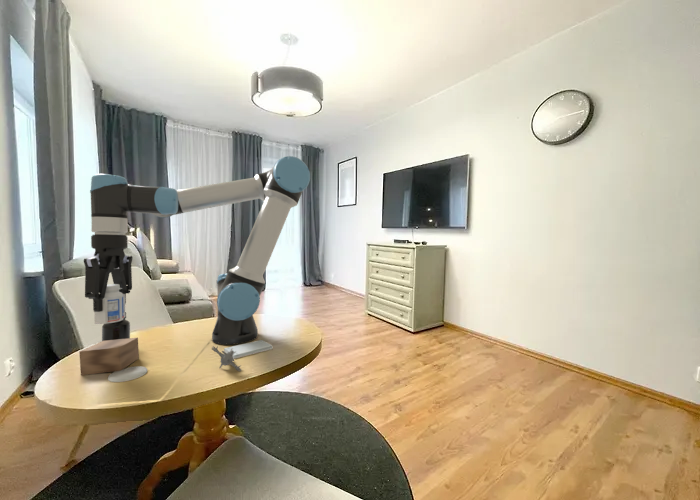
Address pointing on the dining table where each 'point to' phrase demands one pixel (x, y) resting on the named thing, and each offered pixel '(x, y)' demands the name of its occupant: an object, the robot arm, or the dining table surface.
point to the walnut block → (109, 356)
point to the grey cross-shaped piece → (226, 358)
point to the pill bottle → (114, 303)
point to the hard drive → (249, 348)
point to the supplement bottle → (116, 330)
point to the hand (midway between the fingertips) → (110, 320)
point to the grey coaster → (127, 374)
